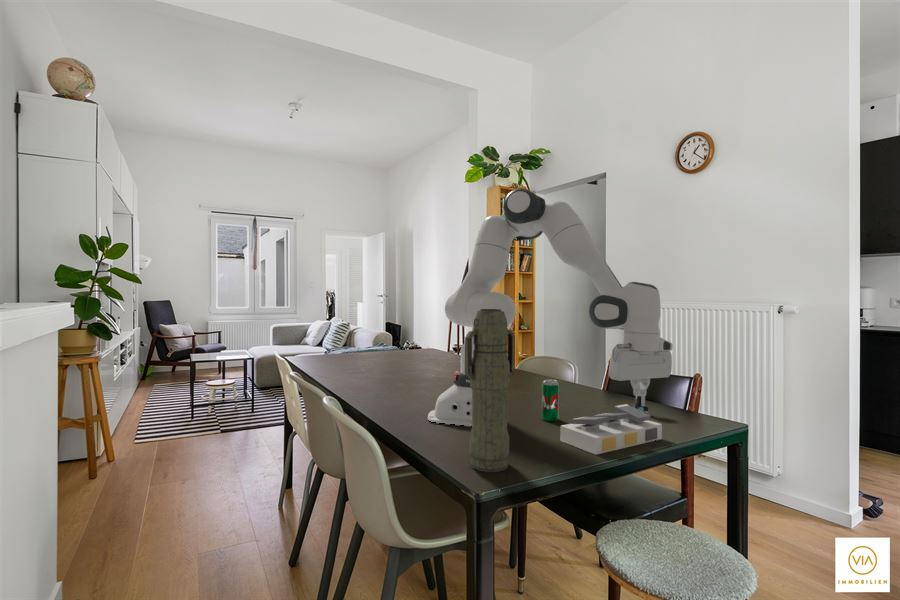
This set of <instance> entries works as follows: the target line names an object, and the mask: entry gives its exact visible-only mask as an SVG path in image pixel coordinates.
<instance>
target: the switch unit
mask: <svg viewBox="0 0 900 600" xmlns="http://www.w3.org/2000/svg"><path fill="white" fill-rule="evenodd" d="M609 421H610V422H606V423H601V424H596V425H594V424H572V423H568V424H562V425H560V428H559V429H560V431H559V432H560V434H559V435H560V438H559V439H560V440H559V441H560V442H563V443H565V444H568V445H570V446H573V447H575V448H578V449H579V450H582V451H585V452H588V453H591V454H593V455H600V454H605V453H608V452H615V451H618V450H621V449H626V448H629V447H634V446H635V447H636V446H639V445H641V444H642V445H643V444H646V443H652V442H654V441H655V440H656V441H659V440H662V438H663V436H662V435H663V432H662V431H663V424H662V423H659V422H656V421H652V420H647V421H642V422H636V421H634V420H632V419H630V418H626V419H621V420H609ZM656 441H655V442H656Z"/></svg>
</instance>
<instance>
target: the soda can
mask: <svg viewBox="0 0 900 600" xmlns="http://www.w3.org/2000/svg"><path fill="white" fill-rule="evenodd" d="M559 387H560V384H559V382H558V380H556V379H548V378H547V379H543V381H542V383H541V418H542V420H543V421H545V422H551V421H553V422H556V421H558V420H559V417H560V416H559V415H560V414H559V407H560V406H559V404H560V399H559V398H560V393H559V392H560V389H559Z"/></svg>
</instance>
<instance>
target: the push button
mask: <svg viewBox="0 0 900 600" xmlns="http://www.w3.org/2000/svg"><path fill="white" fill-rule="evenodd" d="M640 384H641V382H640V383H639V386H640ZM631 388H632V391H633V387H632V386H631ZM649 390H650V385H649V386H648V388H647V390H646V393H649ZM633 408H636V409H638V410H640V411H642V412H644V413H646V414H649V413H650V412H649V407H647V406H646V395H645V396H635V403H634V404H633Z"/></svg>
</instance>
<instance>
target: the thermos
mask: <svg viewBox="0 0 900 600" xmlns="http://www.w3.org/2000/svg"><path fill="white" fill-rule="evenodd" d="M515 336H516V335H515V334H514V332H513V330H512V329H510V328H509V329H508V327H507V320H506V316H505V313H504V311H501V309H480V311H477V313H476V316H475V319H474V329H473V331H472V330H470V331H468V332H467V334H466V335H465V337H464V343H465V374H466V375H467V376H468V377H469V378H470V387H471V389H472V427H471V430H470V434H469V441H468V442H469V443H468V444H469V446H468V447H469V451H468V452H469V466H470V465H471V466H470V467H471V469H473V468H474V470H475V469H477V470H476V471H478V470H479V471H478V472H483V471H484V473H498V472H502V471H505V470H507V469H508V468H509V456H510V434H509V432H508V391H509V389H510V383H511V382H510V381H511V380H510V378H512V376H514V375H515V366H516V365H515V364H516V363H515V362H516V361H515V359H516V357H515V356H516V355H515V354H516V352H515V350H516V348H515V347H516V345H515V344H516V343H515V342H516V337H515ZM472 338H473V344H474V350H473V358H472Z"/></svg>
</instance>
